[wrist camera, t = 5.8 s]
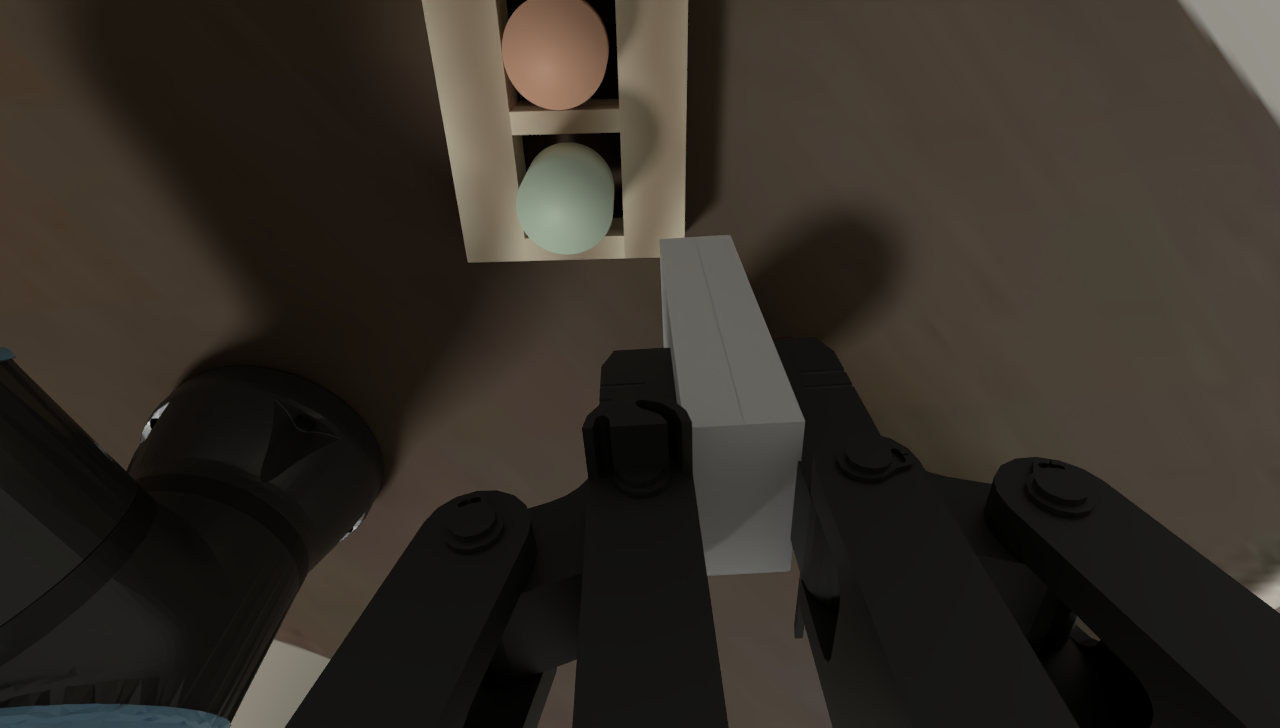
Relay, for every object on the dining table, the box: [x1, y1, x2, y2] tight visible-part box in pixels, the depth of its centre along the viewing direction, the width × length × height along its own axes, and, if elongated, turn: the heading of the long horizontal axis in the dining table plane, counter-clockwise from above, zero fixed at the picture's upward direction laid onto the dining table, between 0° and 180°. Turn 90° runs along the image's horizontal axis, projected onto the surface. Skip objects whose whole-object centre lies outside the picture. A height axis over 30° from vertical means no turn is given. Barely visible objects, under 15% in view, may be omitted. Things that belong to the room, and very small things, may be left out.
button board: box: [422, 0, 688, 263], centre depth 31 cm, size 12×21×3 cm, turn 1°
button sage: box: [516, 142, 614, 255], centre depth 32 cm, size 5×5×4 cm
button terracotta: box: [502, 0, 609, 110], centre depth 29 cm, size 5×5×4 cm
